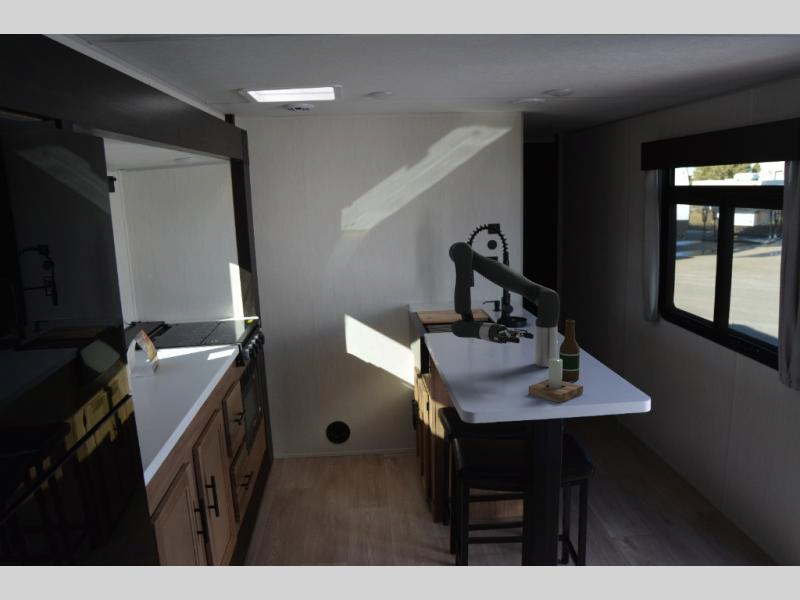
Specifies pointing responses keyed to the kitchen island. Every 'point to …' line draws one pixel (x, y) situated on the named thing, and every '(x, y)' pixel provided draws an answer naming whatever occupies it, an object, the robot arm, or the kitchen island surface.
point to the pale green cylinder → (555, 373)
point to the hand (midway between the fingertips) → (526, 338)
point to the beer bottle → (570, 354)
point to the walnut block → (556, 391)
